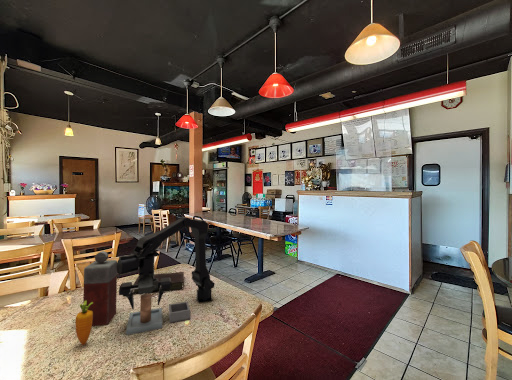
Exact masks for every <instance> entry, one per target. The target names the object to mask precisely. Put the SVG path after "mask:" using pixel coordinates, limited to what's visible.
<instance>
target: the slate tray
mask: <svg viewBox="0 0 512 380" xmlns="http://www.w3.org/2000/svg"><path fill="white" fill-rule="evenodd" d="M159 329H163V308H162V307H158V308H154V309H152V308H151V321H149V322H147V323H141V322H140V311H135V312H130V313H129V316H128V320H127V326H126V331H125V334H126V336H128V335H129V336H130V335H134V334H140V333H144V332H150V331H154V330H159Z"/></svg>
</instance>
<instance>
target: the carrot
mask: <svg viewBox="0 0 512 380" xmlns="http://www.w3.org/2000/svg"><path fill="white" fill-rule="evenodd" d="M86 304H87V301H84V304H83V303H80V304H79V308H80V309H81V311H79V312H78V313H77V314H76V316H75V333H76V336H77V340H78V342H79V343H80V344H81V345H82V346H85V345H86V343H87V342H88V339H89V338H90V336H91V331H92V327H93V326H92V320H93V312H92V311H90V310H88V308H89V306H90V305H91V304H93V302H91V303H90V304H89V305H88V306H86Z"/></svg>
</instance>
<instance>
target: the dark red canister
mask: <svg viewBox="0 0 512 380" xmlns="http://www.w3.org/2000/svg"><path fill="white" fill-rule="evenodd" d="M108 258H109V253H107V252H106V251H103V250H102V251H99V252H97V253H96V254H95V256H94V260H95V261H93V262H92V263H89V264H88V265H87V266H85V267H84V269H83V300H82V301H83V303H82V305H83V304H84V301H87V304H86V306H88V305H89V304H90V303H91V302H93V304H91V305H90V306H89V308H88V310H90V311H92V312H93V320H92V327H100V326H108V325H109V324H110V322H112V320H113V318H114V317H115V316H116V315H117V289H118V288H117V287H118V272H117V262H118V259H117V260H116V259H110V260H108Z"/></svg>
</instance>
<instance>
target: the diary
mask: <svg viewBox="0 0 512 380" xmlns="http://www.w3.org/2000/svg"><path fill="white" fill-rule="evenodd" d="M184 274H185V272H184V271H179V272H178V271H177V272H168V273H167V272H165V273H162V272H161V273H154V279H157V278H158V281H161V278H168V277H169V278H170V279H171V288H170V289H168V290H167V291H165V292H175V291H184V288H183V289H182V283H184V280H185V278H184V277H185V275H184ZM138 280H139V275H138V276H137V278H136V279H135V281H134V282H133V283H132V285H134V284H138ZM159 288H160V286H158V288H155V289H153V290H152V293H151V294H154V293H159ZM165 292H164V293H165ZM133 295H139V293H138V289H135V290H133Z"/></svg>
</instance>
